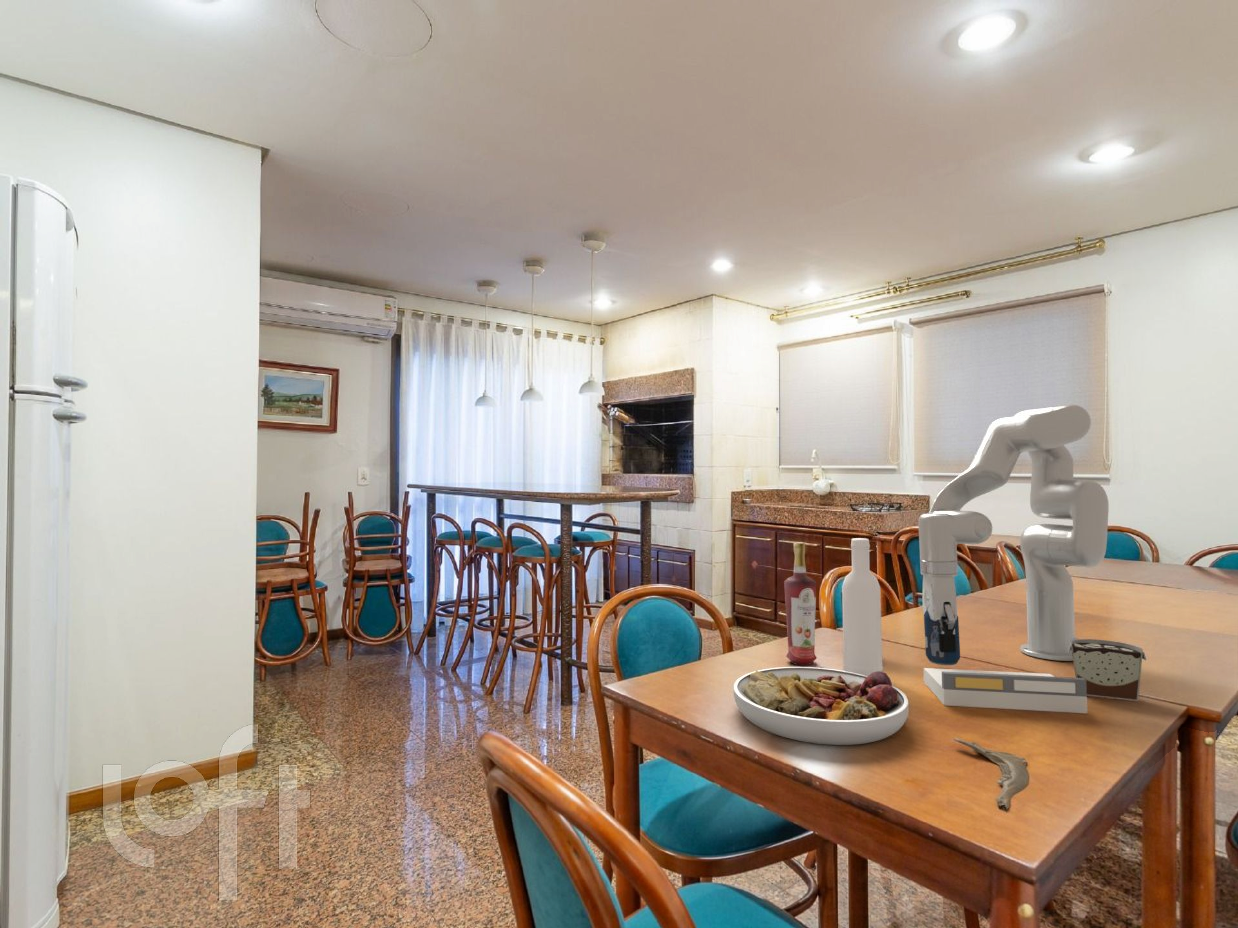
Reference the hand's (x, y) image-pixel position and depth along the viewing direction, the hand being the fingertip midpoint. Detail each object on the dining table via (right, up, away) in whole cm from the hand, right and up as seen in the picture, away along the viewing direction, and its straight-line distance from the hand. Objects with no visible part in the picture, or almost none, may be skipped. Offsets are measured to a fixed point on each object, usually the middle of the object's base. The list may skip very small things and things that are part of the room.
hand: (942, 646), depth 142 cm
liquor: (-30, -6, +6) cm, 31 cm away
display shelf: (+2, -5, -18) cm, 19 cm away
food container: (+24, -5, -17) cm, 29 cm away
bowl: (-37, -5, -28) cm, 46 cm away
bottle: (-20, -5, -6) cm, 22 cm away
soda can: (0, -4, 0) cm, 4 cm away
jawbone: (-20, -4, -51) cm, 55 cm away
